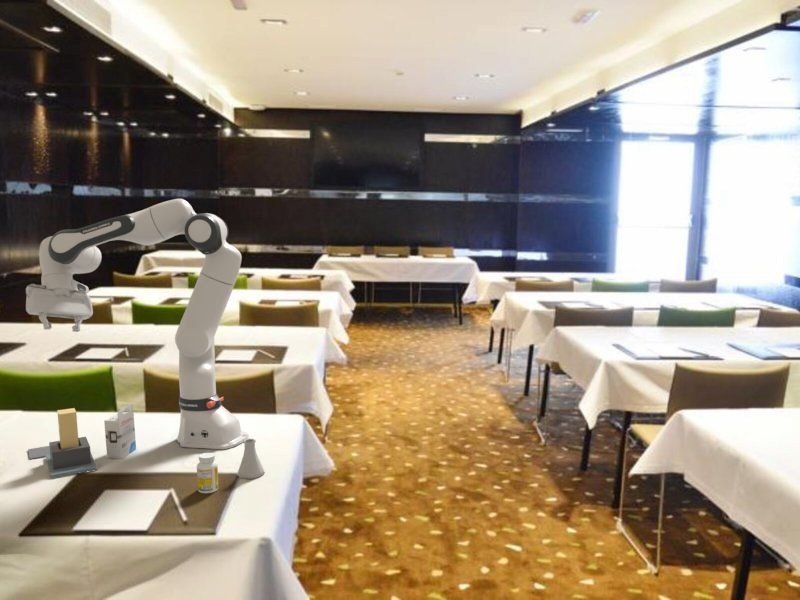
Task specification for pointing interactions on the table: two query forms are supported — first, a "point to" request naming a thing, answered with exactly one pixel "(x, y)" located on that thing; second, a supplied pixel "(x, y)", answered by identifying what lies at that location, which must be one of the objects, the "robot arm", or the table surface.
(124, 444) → the ink box
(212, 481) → the supplement bottle
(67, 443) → the plug
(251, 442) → the flask
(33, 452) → the pad
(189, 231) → the robot arm
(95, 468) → the board
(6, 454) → the table surface
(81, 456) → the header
